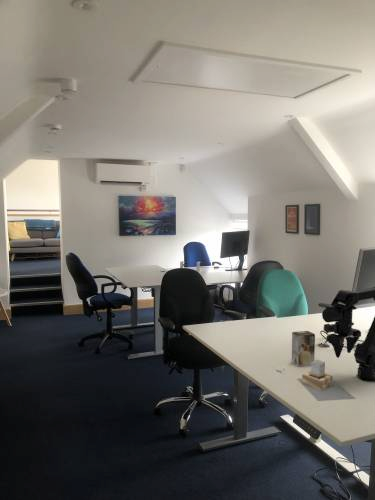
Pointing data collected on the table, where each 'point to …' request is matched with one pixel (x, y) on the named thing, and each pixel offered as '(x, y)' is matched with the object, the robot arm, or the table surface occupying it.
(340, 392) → the rubber mat
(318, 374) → the steel pin
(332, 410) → the table surface
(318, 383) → the wooden square frame
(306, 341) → the coffee box
